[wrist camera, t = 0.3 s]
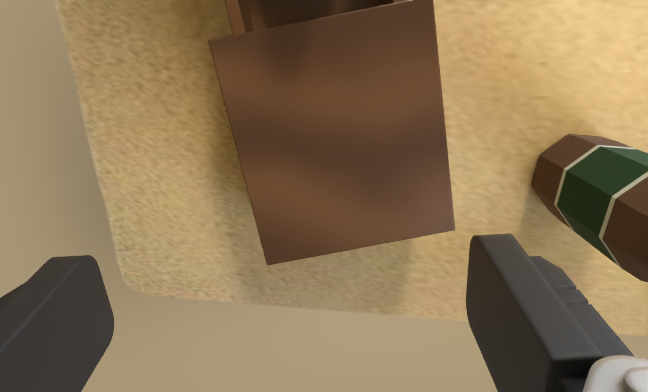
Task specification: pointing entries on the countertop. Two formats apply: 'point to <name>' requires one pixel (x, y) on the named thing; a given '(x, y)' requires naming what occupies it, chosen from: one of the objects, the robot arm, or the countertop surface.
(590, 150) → the beer bottle
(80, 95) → the countertop surface
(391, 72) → the cabinet
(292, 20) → the drawer
